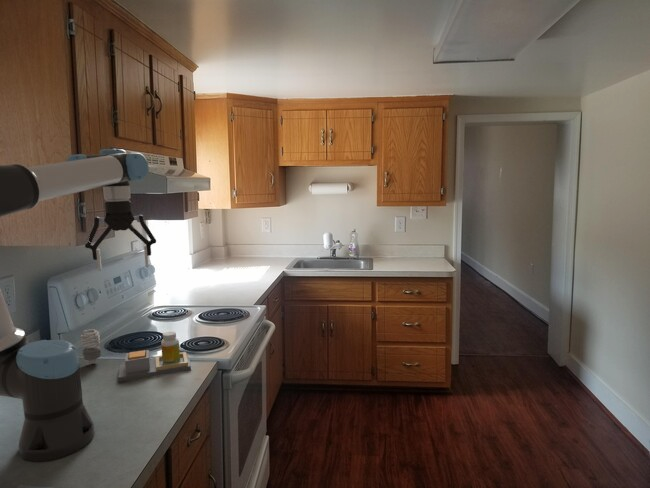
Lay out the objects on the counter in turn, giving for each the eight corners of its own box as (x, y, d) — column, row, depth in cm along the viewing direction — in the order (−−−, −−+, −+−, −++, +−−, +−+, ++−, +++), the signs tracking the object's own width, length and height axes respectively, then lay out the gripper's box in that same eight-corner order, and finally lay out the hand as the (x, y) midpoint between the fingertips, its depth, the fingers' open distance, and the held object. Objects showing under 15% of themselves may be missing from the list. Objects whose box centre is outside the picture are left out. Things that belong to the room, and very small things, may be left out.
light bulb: (106, 360, 153) (102, 326, 151) (96, 367, 147) (92, 332, 146) (90, 360, 153) (86, 326, 152) (79, 367, 148) (75, 332, 146)
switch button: (130, 368, 140) (129, 357, 140) (130, 362, 144) (129, 352, 144) (145, 365, 142) (145, 355, 141) (146, 360, 146) (145, 350, 145)
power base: (118, 382, 136) (117, 364, 136) (120, 368, 147) (119, 352, 146) (191, 370, 144) (189, 353, 143) (188, 357, 154) (187, 342, 153)
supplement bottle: (176, 365, 144) (174, 336, 142) (160, 365, 144) (157, 336, 143) (182, 358, 149) (180, 330, 148) (166, 359, 149) (164, 330, 148)
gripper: (160, 198, 147) (165, 262, 151) (74, 201, 139) (81, 269, 142) (160, 199, 140) (166, 266, 144) (69, 202, 132) (77, 274, 135)
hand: (123, 268), depth 143 cm, fingers open, 13 cm apart
